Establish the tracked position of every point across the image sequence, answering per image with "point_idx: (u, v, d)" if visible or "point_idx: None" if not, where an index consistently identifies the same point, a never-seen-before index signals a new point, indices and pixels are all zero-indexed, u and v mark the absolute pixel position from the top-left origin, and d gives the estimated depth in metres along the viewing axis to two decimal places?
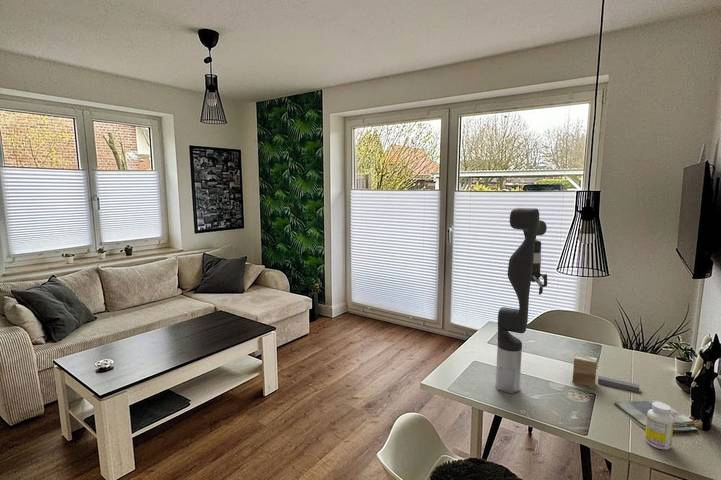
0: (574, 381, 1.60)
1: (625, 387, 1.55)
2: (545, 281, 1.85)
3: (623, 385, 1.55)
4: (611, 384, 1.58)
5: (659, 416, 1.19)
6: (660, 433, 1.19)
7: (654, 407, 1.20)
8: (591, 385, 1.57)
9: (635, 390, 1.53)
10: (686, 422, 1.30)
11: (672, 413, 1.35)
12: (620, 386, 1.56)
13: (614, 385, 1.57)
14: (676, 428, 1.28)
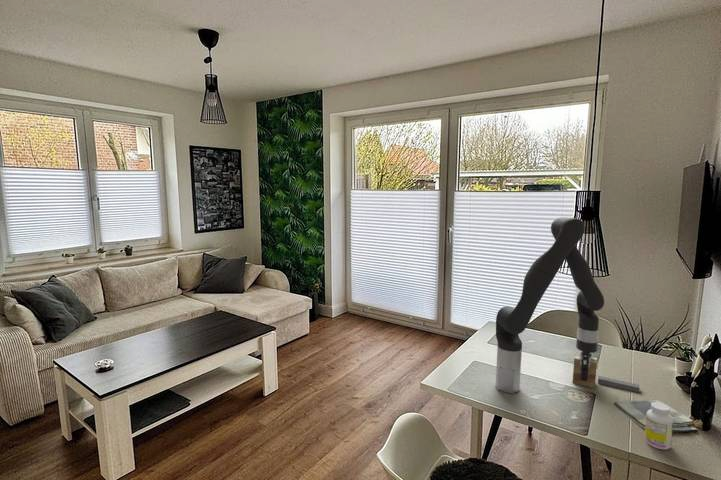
0: (574, 381, 1.60)
1: (625, 387, 1.55)
2: None
3: (623, 385, 1.55)
4: (611, 384, 1.58)
5: (659, 417, 1.19)
6: (660, 434, 1.18)
7: (653, 408, 1.20)
8: (591, 385, 1.57)
9: (635, 390, 1.53)
10: (686, 422, 1.30)
11: (672, 413, 1.35)
12: (620, 386, 1.56)
13: (614, 385, 1.57)
14: (676, 428, 1.28)
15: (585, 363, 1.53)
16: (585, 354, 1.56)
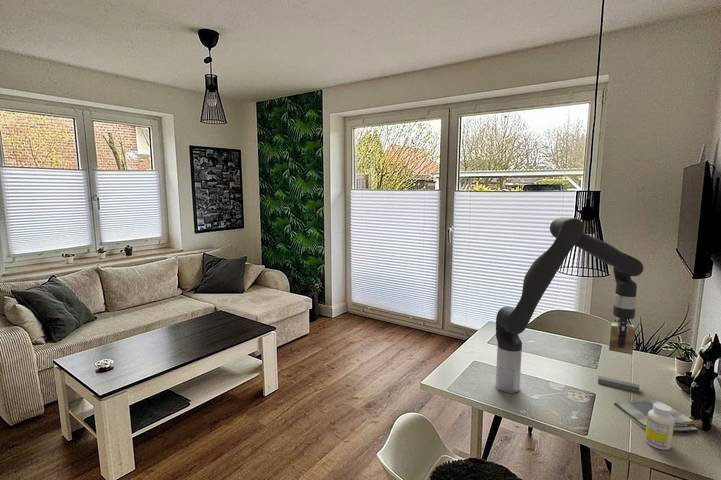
0: (611, 348, 1.60)
1: (625, 387, 1.55)
2: None
3: (623, 385, 1.55)
4: (611, 384, 1.58)
5: (661, 417, 1.18)
6: (662, 435, 1.18)
7: (656, 408, 1.20)
8: (629, 352, 1.56)
9: (635, 390, 1.53)
10: (686, 422, 1.30)
11: (672, 413, 1.35)
12: (620, 386, 1.56)
13: (614, 385, 1.57)
14: (676, 428, 1.28)
15: (623, 329, 1.53)
16: (623, 320, 1.55)
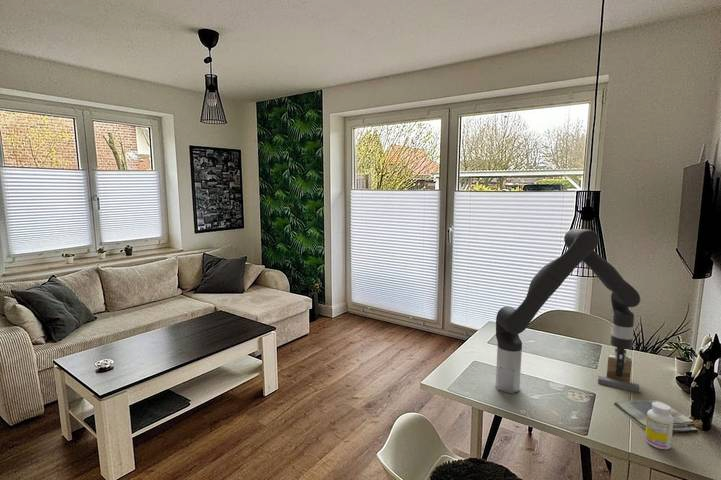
0: None
1: (625, 387, 1.55)
2: None
3: (623, 385, 1.55)
4: (611, 384, 1.58)
5: (661, 416, 1.19)
6: (662, 434, 1.18)
7: (655, 408, 1.20)
8: None
9: (635, 390, 1.53)
10: (686, 422, 1.30)
11: (672, 413, 1.35)
12: (620, 386, 1.56)
13: (614, 385, 1.57)
14: (676, 428, 1.28)
15: (621, 357, 1.54)
16: (620, 350, 1.57)
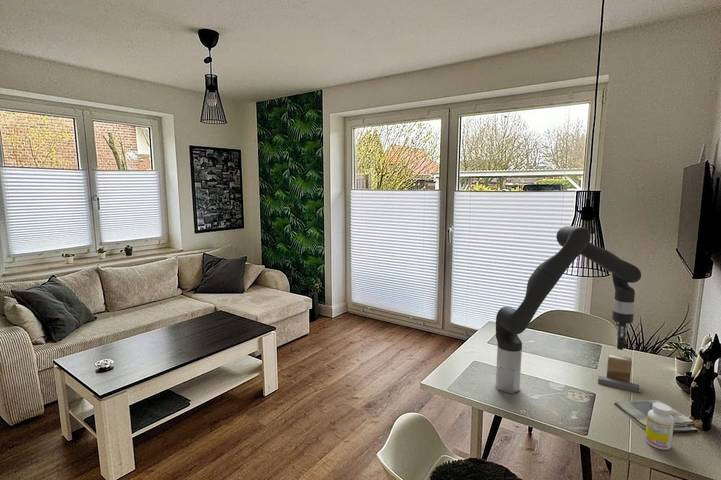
0: None
1: (625, 387, 1.55)
2: None
3: (623, 385, 1.55)
4: (611, 384, 1.58)
5: (661, 417, 1.18)
6: (663, 435, 1.18)
7: (656, 409, 1.19)
8: None
9: (635, 390, 1.53)
10: (686, 422, 1.30)
11: (672, 413, 1.35)
12: (620, 386, 1.56)
13: (614, 385, 1.57)
14: (676, 428, 1.28)
15: (622, 335, 1.61)
16: (622, 325, 1.62)
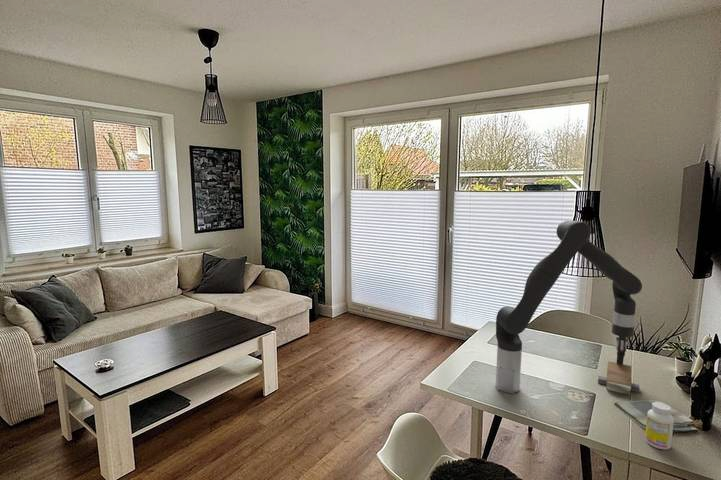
0: None
1: None
2: None
3: None
4: None
5: (661, 417, 1.19)
6: (663, 434, 1.18)
7: (656, 408, 1.20)
8: None
9: (635, 390, 1.53)
10: (686, 422, 1.30)
11: (672, 413, 1.35)
12: None
13: None
14: (676, 428, 1.28)
15: (622, 350, 1.52)
16: (622, 339, 1.54)
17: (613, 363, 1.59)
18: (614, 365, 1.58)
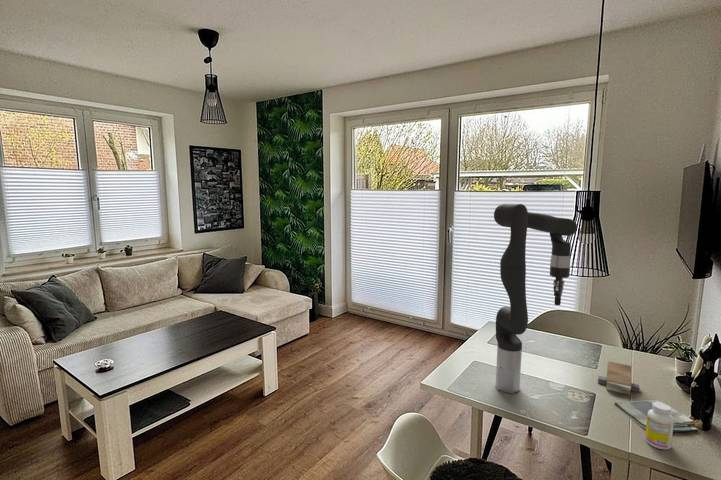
0: None
1: None
2: None
3: None
4: None
5: (662, 417, 1.19)
6: (664, 434, 1.18)
7: (656, 408, 1.20)
8: None
9: (635, 390, 1.53)
10: (686, 422, 1.30)
11: (672, 413, 1.35)
12: None
13: None
14: (676, 428, 1.28)
15: (557, 289, 1.59)
16: (557, 279, 1.61)
17: (613, 363, 1.59)
18: (614, 365, 1.58)
